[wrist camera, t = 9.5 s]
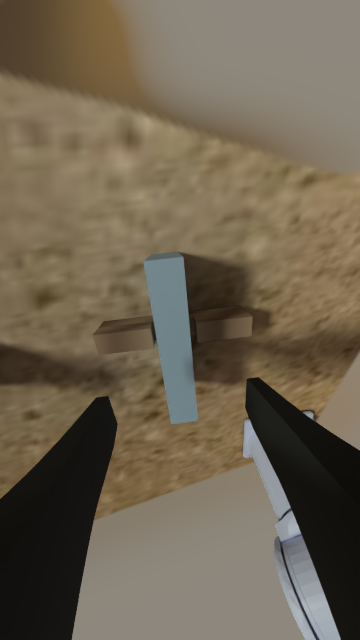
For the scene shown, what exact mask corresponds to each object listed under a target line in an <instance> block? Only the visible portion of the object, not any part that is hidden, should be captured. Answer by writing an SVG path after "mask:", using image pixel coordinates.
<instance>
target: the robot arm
mask: <svg viewBox="0 0 360 640" xmlns="http://www.w3.org/2000/svg"><path fill="white" fill-rule="evenodd" d="M245 408H246V411H247V414H248V416H249V419H246V420H245V423H244V442H243V456H244V458H250V457H253V459H254V461H255V464H256V466H257V469H258V471H259V474H260V476H261V479H262V481H263V484H264V486H265V489H266V491H267V494H268V496H269V499H270V501H271V504H272V506H273V509H274V511H275V514H276V516H277V519H278V521H279V522H277V523H275V528H276V530H277V533H278V535H279V536H278V537H276V538H275V542H274V558H275V564H276V567H277V572H278V575H279V578H280V582H281V585H282V588H283V591H284V594H285V596H286V599H287V601H288V604H289V607H290V609H291V611H292V614H293V616H294V618H295V620H296V622H297V624H298V626H299V628H300V630H301V632H302V634H303V636H304V638H305V639H306V640H360V450H358V449H356V448H355V447H353V446H352V445H350V444H348V443H347V442H345V441H343V440H342V439H340V438H339V437H337V436H336V435H334V434H333V433H331V432H330V431H328V430H327V429H325V428H324V427H322V426H321V425H319V424H318V423H317V422H315V420H314V419H313V415H314V414H313V413H312V412H311V411H305V412H301V411H300V410H299V409H297V408H296V407H295V406H294V405H292V404H291V403H290V402H288V401H287V400H286V399H285V398H283V397H282V396H281V395H280V394H278V393H277V392H276V391H275V390H273V389H272V388H271V387H270V386H269V385H267V384H266V383H265V382H264V381H262V380H261V379H260V378H259V377H257V378H249V379H247V385H246V404H245ZM116 431H117V421H116V418H115V415H114V412H113V409H112V406H111V403H110V400H109V397H108V396H106V397H98V398H96V399H95V400H94V401H93V402H92V403H91V404H90V405H89V407H88V408H87V409H86V410H85V411H84V412H83V414H82V415H81V416H80V417H79V418H78V419H77V421H76V422H75V423H74V424H73V425H72V426H71V428H70V429H69V430H68V431H67V432H66V433H65V434H64V435H63V437H62V438H61V439H60V440H59V441H58V442H57V443H56V444H55V445H54V446H53V447H52V448H51V450H50V451H49V452H48V453H47V454H46V455H45V456H44V457H43V458H42V459H41V460H40V461H39V462H38V463H37V464H36V465H35V466H34V467H33V468H32V469H31V470H30V471H29V472H28V473H27V474H26V475H25V476H24V477H23V478H22V479H21V480H20V481H19V482H18V483H17V484H16V485H15V486H14V487H13V488H12V489H11V490H10V491H9V492H8V493H6V494H5V495H4V496H3V497H2V498H1V499H0V640H72V633H73V628H74V622H75V616H76V611H77V605H78V599H79V593H80V587H81V582H82V576H83V571H84V566H85V561H86V555H87V550H88V545H89V540H90V535H91V531H92V526H93V521H94V516H95V512H96V508H97V504H98V501H99V497H100V494H101V490H102V487H103V483H104V480H105V476H106V473H107V469H108V466H109V462H110V458H111V455H112V451H113V447H114V442H115V437H116Z"/></svg>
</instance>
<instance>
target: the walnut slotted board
mask: <svg viewBox="0 0 360 640" xmlns="http://www.w3.org/2000/svg"><path fill="white" fill-rule="evenodd" d="M188 314H189V326H190V336H194V335H195V336H196V339H197V343H201V342H209V341H217V340H226V339H234V338H242V337H250V336H251V335H252V318H253V316H252V315H250V314H249V313H248V312H247V311H246V310H245V309H244V308H242V307H241V306H232V307H224V308H215V309H206V310H198V311H189V312H188ZM93 338H94V341H95V344H96V347H97V350H98V354H99V355H102V354H110V353H118V352H127V351H135V350H143V349H151V348H154V344H155V340H157V338H156V332H155V326H154V320H153V316H147V317H138V318H130V319H121V320H113V321H104V322H103V323H102V324H101V325H100V327H99V328H98V329H97V330H96V332H95V333H94V334H93Z"/></svg>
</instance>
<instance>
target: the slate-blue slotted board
mask: <svg viewBox="0 0 360 640" xmlns="http://www.w3.org/2000/svg"><path fill="white" fill-rule="evenodd" d="M143 262H144V267H145V273H146V279H147V285H148V291H149V297H150V303H151V308H152V314H153V320H154V326H155V332H156V338H157V344H158V349H159V355H160V361H161V367H162V373H163V379H164V384H165V390H166V396H167V402H168V408H169V414H170V420H171V424H177V423H184V422H192V421H198V416H197V405H196V393H195V382H194V371H193V360H192V348H191V337H190V326H189V314H188V303H187V292H186V280H185V269H184V258H183V256H182V255H181V254H180V253H179V252H173V253H164V254H155V255H151V256H149V257H148V258H147V259H146V260H144V261H143Z"/></svg>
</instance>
